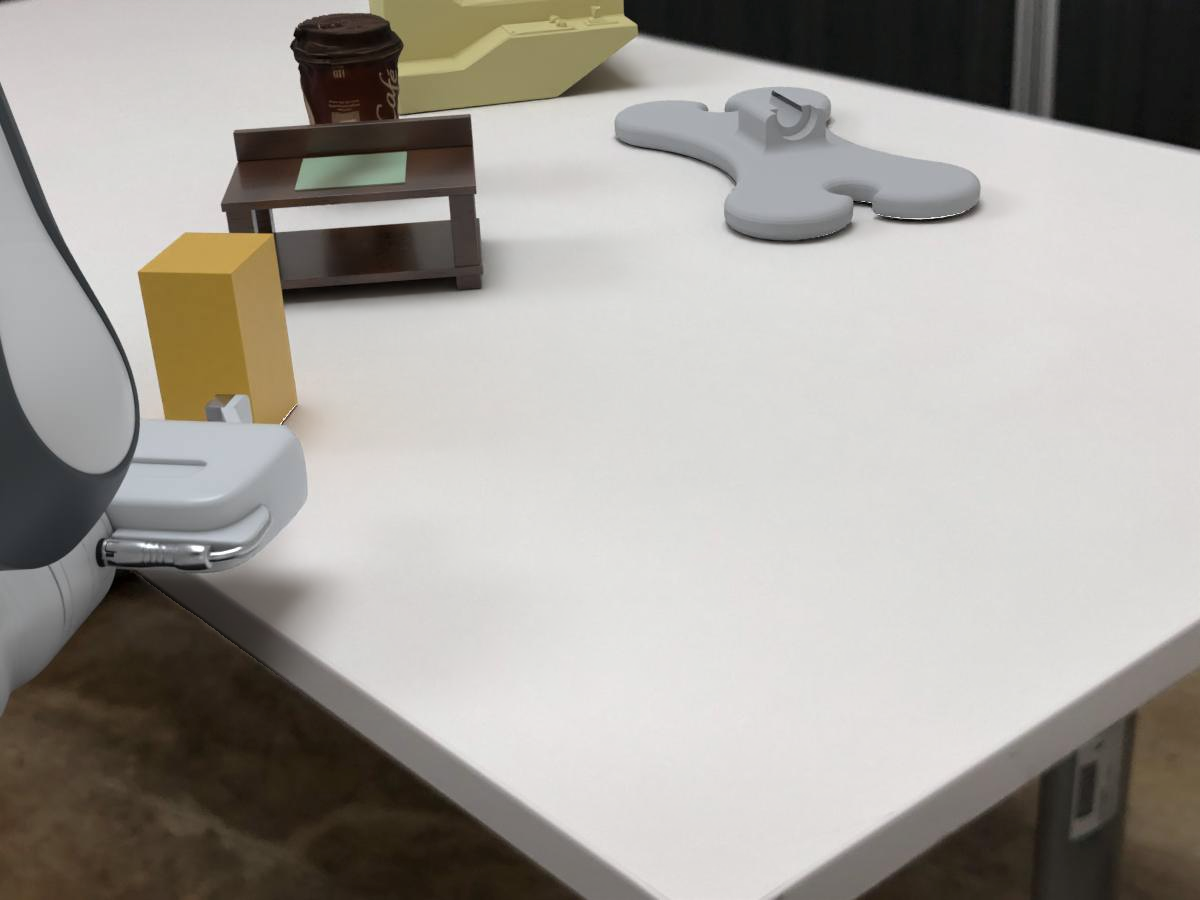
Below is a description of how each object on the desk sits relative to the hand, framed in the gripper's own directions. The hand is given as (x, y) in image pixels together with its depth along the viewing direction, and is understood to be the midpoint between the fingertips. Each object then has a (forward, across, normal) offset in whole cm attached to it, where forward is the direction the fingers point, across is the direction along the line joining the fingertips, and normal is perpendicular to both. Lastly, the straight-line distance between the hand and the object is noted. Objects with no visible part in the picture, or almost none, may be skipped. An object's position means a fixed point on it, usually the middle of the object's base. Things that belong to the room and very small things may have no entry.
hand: (143, 404), depth 75 cm
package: (+9, 0, +6) cm, 11 cm away
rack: (+33, 0, +6) cm, 34 cm away
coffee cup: (+51, +6, +6) cm, 52 cm away
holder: (+58, -26, +6) cm, 64 cm away
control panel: (+86, +3, +6) cm, 86 cm away
